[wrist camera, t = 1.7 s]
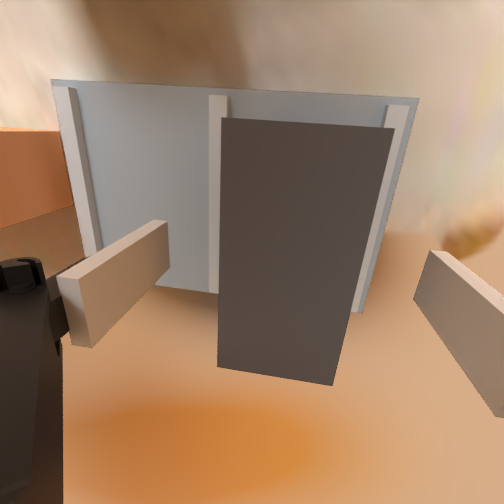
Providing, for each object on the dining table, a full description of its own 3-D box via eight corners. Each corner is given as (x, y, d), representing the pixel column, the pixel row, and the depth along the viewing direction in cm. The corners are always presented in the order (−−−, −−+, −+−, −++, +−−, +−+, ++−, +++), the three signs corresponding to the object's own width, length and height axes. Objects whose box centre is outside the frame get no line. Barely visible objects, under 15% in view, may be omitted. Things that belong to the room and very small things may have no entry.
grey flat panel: (61, 81, 21) (41, 77, 19) (413, 99, 18) (424, 96, 17) (95, 271, 27) (82, 280, 26) (360, 306, 25) (364, 319, 23)
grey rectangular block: (257, 123, 19) (221, 117, 10) (347, 129, 19) (395, 128, 9) (247, 277, 24) (217, 367, 15) (319, 286, 23) (332, 386, 14)
